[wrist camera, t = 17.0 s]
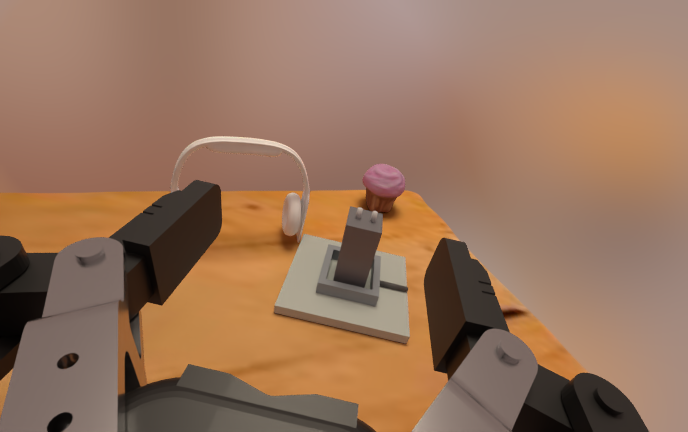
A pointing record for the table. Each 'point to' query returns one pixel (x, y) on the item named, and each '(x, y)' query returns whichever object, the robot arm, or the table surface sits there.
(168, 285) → the robot arm
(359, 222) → the charger block
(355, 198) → the table surface
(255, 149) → the headset
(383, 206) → the cupcake
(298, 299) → the charging dock
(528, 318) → the table surface
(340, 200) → the table surface
